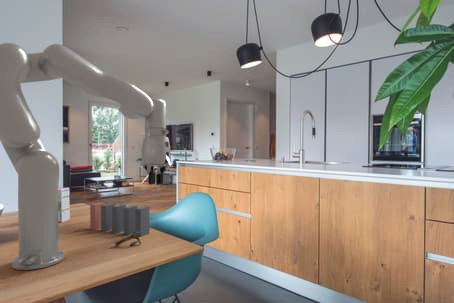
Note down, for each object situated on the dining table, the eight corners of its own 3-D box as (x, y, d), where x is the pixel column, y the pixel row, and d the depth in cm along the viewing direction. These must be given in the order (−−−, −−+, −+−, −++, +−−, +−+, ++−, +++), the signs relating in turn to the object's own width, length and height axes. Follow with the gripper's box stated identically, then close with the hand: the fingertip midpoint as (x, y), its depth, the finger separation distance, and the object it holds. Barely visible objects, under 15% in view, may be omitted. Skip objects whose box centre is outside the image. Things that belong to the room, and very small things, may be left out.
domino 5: (149, 233, 109) (149, 206, 109) (140, 236, 105) (140, 209, 105) (144, 232, 110) (144, 206, 110) (135, 236, 106) (135, 208, 106)
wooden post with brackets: (143, 242, 96) (137, 230, 95) (120, 254, 94) (114, 242, 94) (143, 241, 98) (138, 229, 97) (120, 252, 96) (114, 240, 95)
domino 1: (104, 227, 118) (104, 202, 118) (95, 230, 113) (94, 204, 113) (100, 226, 119) (100, 202, 118) (90, 229, 114) (90, 204, 114)
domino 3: (126, 230, 114) (126, 204, 113) (117, 233, 109) (116, 207, 109) (121, 229, 115) (121, 204, 114) (112, 232, 110) (111, 206, 110)
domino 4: (137, 231, 112) (137, 205, 111) (128, 235, 107) (128, 208, 107) (132, 230, 112) (132, 205, 112) (123, 234, 108) (123, 207, 108)
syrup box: (70, 219, 131) (70, 187, 130) (61, 222, 125) (61, 189, 125) (58, 218, 131) (58, 187, 131) (49, 222, 125) (48, 188, 125)
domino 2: (115, 228, 116) (115, 203, 116) (105, 231, 111) (105, 206, 111) (110, 227, 117) (110, 203, 116) (101, 231, 112) (100, 205, 112)
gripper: (180, 133, 105) (180, 184, 105) (144, 134, 111) (144, 182, 112) (168, 132, 98) (168, 186, 99) (130, 133, 104) (130, 184, 105)
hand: (155, 183), depth 105 cm, fingers closed
